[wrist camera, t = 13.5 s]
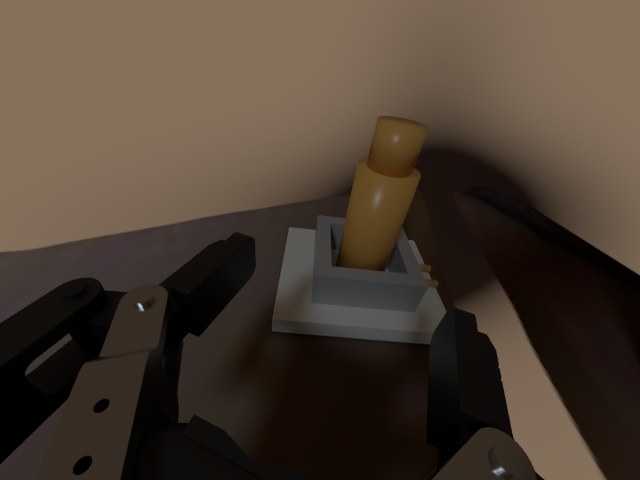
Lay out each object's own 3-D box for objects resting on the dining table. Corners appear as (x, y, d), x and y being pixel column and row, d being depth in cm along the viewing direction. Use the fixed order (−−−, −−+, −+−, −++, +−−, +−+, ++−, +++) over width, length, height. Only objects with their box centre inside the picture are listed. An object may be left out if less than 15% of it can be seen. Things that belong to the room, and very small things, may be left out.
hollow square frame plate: (410, 251, 31) (424, 218, 28) (450, 346, 21) (477, 310, 18) (288, 238, 30) (291, 203, 27) (271, 331, 20) (272, 291, 17)
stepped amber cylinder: (377, 258, 26) (425, 119, 19) (385, 292, 23) (449, 137, 15) (333, 254, 26) (364, 110, 18) (335, 287, 22) (374, 126, 15)
